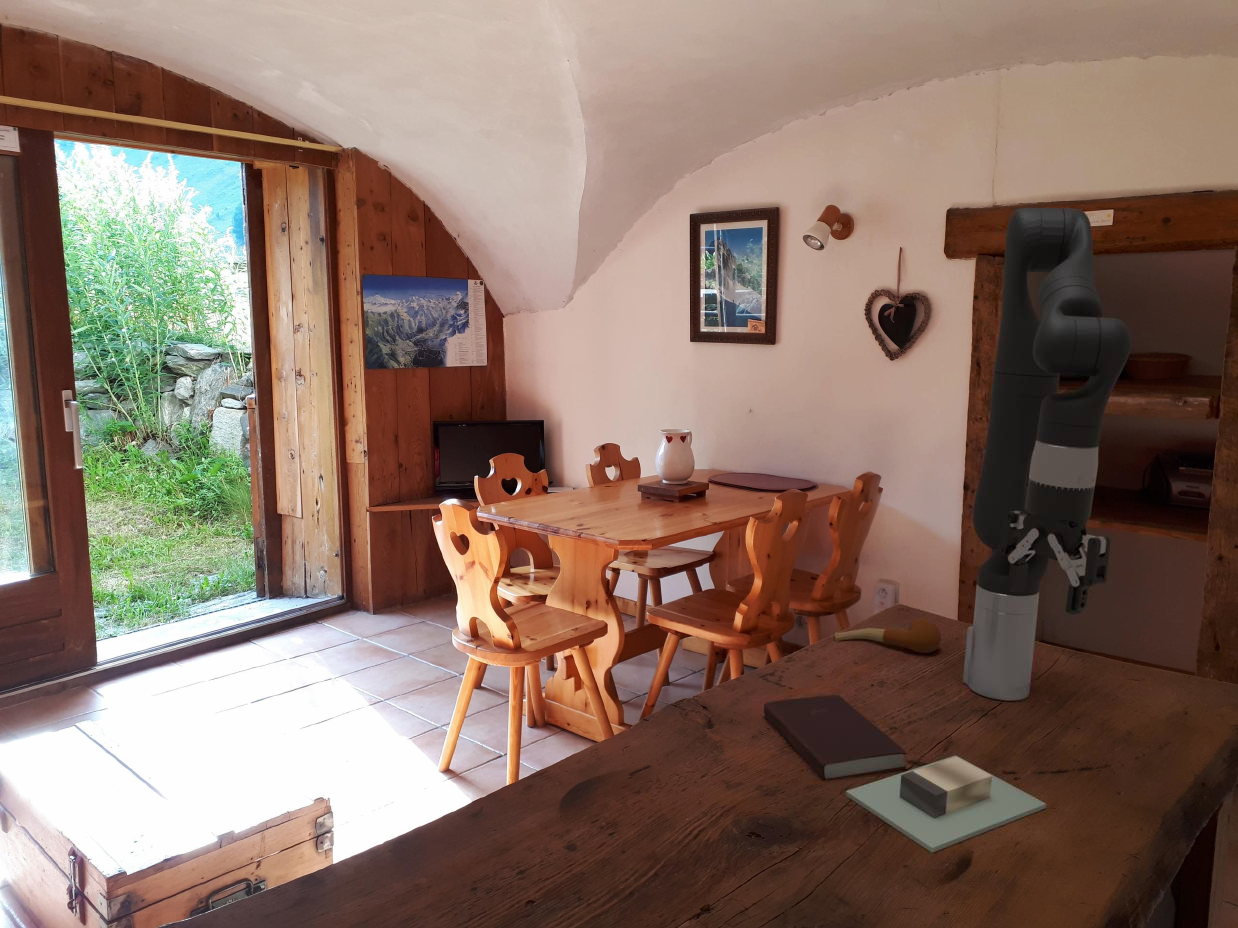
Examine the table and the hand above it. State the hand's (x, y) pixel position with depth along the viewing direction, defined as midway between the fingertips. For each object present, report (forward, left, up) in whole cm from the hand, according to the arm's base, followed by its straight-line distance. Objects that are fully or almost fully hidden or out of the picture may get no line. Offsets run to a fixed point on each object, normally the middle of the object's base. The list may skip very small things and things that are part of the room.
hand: (1044, 601), depth 120 cm
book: (-20, -16, -25) cm, 36 cm away
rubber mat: (-1, -15, -24) cm, 28 cm away
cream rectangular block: (-1, -15, -24) cm, 28 cm away
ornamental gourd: (-42, +18, -25) cm, 52 cm away
